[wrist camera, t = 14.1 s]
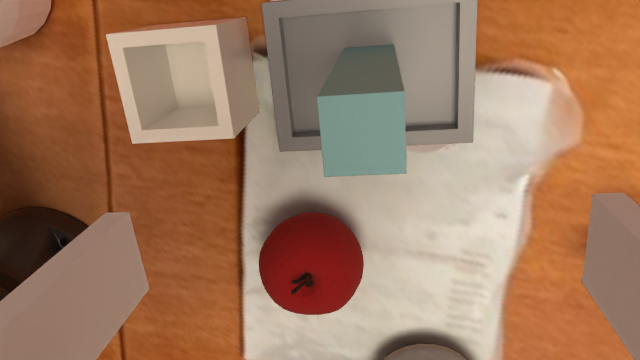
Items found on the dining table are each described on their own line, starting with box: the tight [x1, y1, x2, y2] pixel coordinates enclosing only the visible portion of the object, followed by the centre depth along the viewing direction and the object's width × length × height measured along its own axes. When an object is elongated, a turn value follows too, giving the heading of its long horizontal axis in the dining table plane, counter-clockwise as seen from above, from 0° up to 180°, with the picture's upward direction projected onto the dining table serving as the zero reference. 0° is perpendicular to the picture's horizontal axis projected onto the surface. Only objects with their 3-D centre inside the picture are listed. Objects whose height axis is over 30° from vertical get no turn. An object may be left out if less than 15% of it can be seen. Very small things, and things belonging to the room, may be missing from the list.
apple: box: [259, 212, 364, 315], centre depth 42 cm, size 9×9×10 cm
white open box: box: [106, 17, 259, 144], centre depth 38 cm, size 8×8×8 cm
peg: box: [317, 44, 406, 177], centre depth 31 cm, size 4×4×18 cm
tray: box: [261, 0, 477, 152], centre depth 39 cm, size 16×12×2 cm
